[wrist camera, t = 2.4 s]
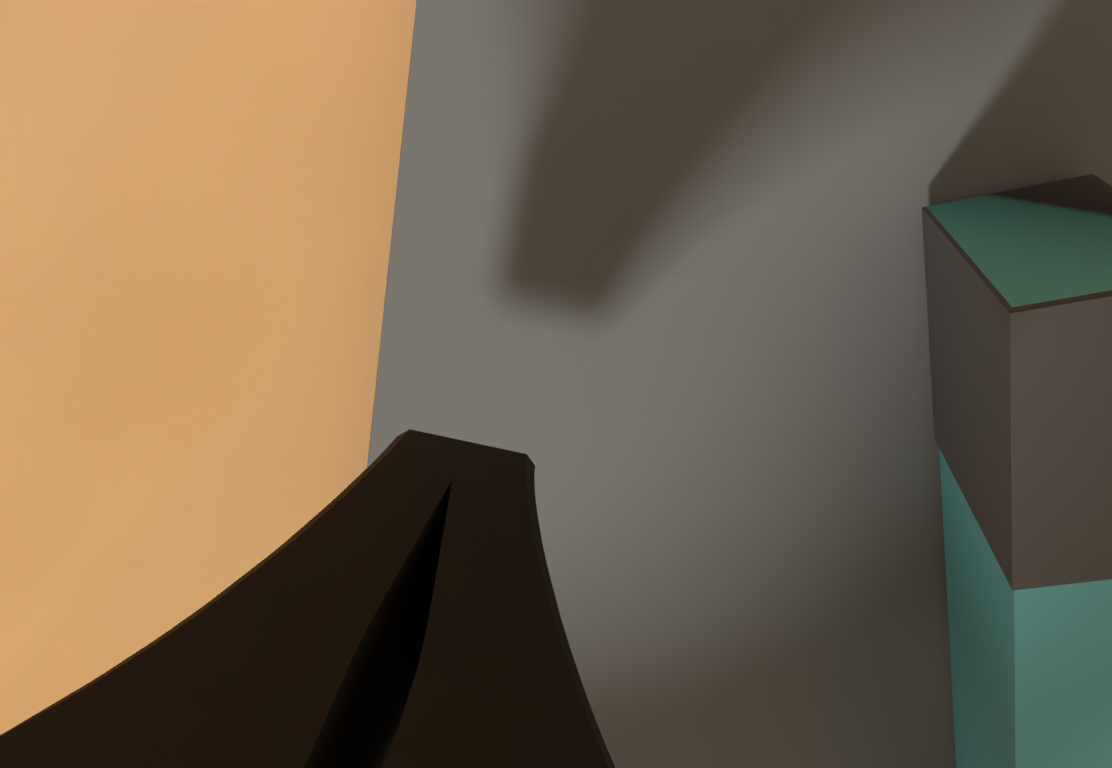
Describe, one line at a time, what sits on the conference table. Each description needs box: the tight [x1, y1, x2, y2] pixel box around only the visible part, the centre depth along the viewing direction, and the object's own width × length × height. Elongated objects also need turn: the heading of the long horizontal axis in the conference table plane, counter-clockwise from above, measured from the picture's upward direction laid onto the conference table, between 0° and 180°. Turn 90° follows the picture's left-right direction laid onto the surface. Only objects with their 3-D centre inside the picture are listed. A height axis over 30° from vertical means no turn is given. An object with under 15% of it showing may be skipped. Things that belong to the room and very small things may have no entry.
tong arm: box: [922, 174, 1112, 768], centre depth 11 cm, size 14×2×3 cm, turn 14°
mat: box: [367, 0, 1112, 768], centre depth 13 cm, size 22×18×1 cm
